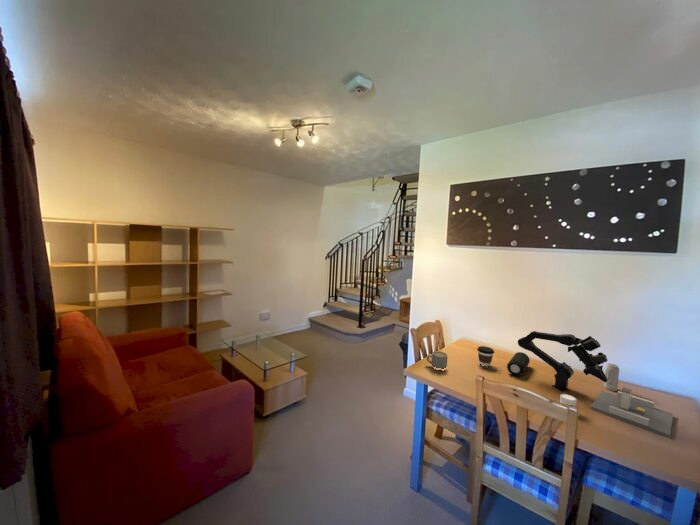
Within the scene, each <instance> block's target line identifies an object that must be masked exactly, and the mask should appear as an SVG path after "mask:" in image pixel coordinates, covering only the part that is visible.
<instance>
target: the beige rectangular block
mask: <svg viewBox="0 0 700 525" xmlns="http://www.w3.org/2000/svg"><path fill="white" fill-rule="evenodd" d="M632 391H633V389H631V388H628V387H625V386H623V387H622V389H621V392H622V396H621V405H620V407H621V408H624V409H627V410H628V409H629V407H630V399H631V395H632Z"/></svg>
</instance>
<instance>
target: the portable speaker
mask: <svg viewBox="0 0 700 525" xmlns="http://www.w3.org/2000/svg"><path fill="white" fill-rule="evenodd" d="M530 361H531V360H530V357H529V356H528V355H527V354H526V353H525V352H523V351H519V352H515V354H514V355H513V356H512V358H510V360H509V361H508V363H507V365H506V368H507V371H508V372H509V373H510V375H513V376H514V377H519V376H522V375H523V374H524V373H525V371H526V369H527V368H528V366H529V364H530V363H531V362H530Z"/></svg>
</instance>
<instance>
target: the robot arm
mask: <svg viewBox="0 0 700 525" xmlns="http://www.w3.org/2000/svg"><path fill="white" fill-rule="evenodd" d="M534 339H539V340H544V341H551V342H556V343H559V344H561V345H564V346H567V352H568V353H570V352H573V354H575V356H576V357H577V358H578V361H579V362H582V364H583V365H584V368H583V371H582V372H583V373H584V374H585V376H588V375H591V376H593V377H595V378H597V379H599V380H600V381H602V382H603V383H604V382H607V381H608V379H607V377H606V376H605V371H603V367H604V366H603V365H602V364H604V363H607V362H608V361H609V359H608V358H607V355H606V353H605V354H604V353H603V352H602V351H601V352H598V353H597V354H595V355H593V354H592V353H589V352H592V351H595V350H597V349H598V348H601V347H602V346H601V344H600V342H599V341H598V340H597V339H595V338H594V337H592V335H589V336H587V337H586V338H584V339H582V338H579V337H576V336H575V335H574V334H567V333H565V334H563V333H562V334H556V333H547V332H543V331H542V332H541V331H536V330H532V331H530V332H529V334H527V335H526V336H523V337H521V338H519V339H518V340H517V345H518V346H519V347H520V348H522V349H524V350H526V351H528V352H531V353H533V354H534V355H535V356H537V357H538V358H539V359H541V360H542V361H543V362H545V363H546V364H547V365H549V366H550V367H551V368H553V369H554V371H555V372H556V373H555V374H554V379H555V380H554V381H555V382H554V384H553V385H552V387H553V388H555V389H557V390H559V391H561V392H567V391H571V389H570V388H568V387H569V379H571V378H572V377H573V376H574V374H575V372H574V369H573V368H572V366H571V365H569V364H567V362H565V361H563V362H562V363H561V362H559V361H558V360H556V359H555V358H554V357H552V356H550V355H549V354H547V353H546V352H544V351H543V350H542V348H541V349H540V348H539V347H538V346H536V344H535V343H534Z"/></svg>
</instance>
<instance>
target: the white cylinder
mask: <svg viewBox="0 0 700 525" xmlns="http://www.w3.org/2000/svg"><path fill="white" fill-rule="evenodd" d="M559 396H560V403H563V404H568V405H573V406H575V407H576V405H577V398H576V397H575V396H573V395H570V394H567V393H562V394H560V395H559Z"/></svg>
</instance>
